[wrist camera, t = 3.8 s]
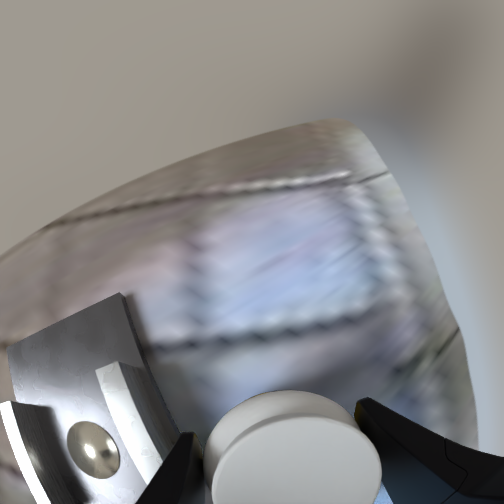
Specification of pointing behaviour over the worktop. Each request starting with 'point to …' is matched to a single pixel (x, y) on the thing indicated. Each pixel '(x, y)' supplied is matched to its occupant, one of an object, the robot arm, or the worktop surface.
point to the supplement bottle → (290, 453)
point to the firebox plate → (87, 410)
